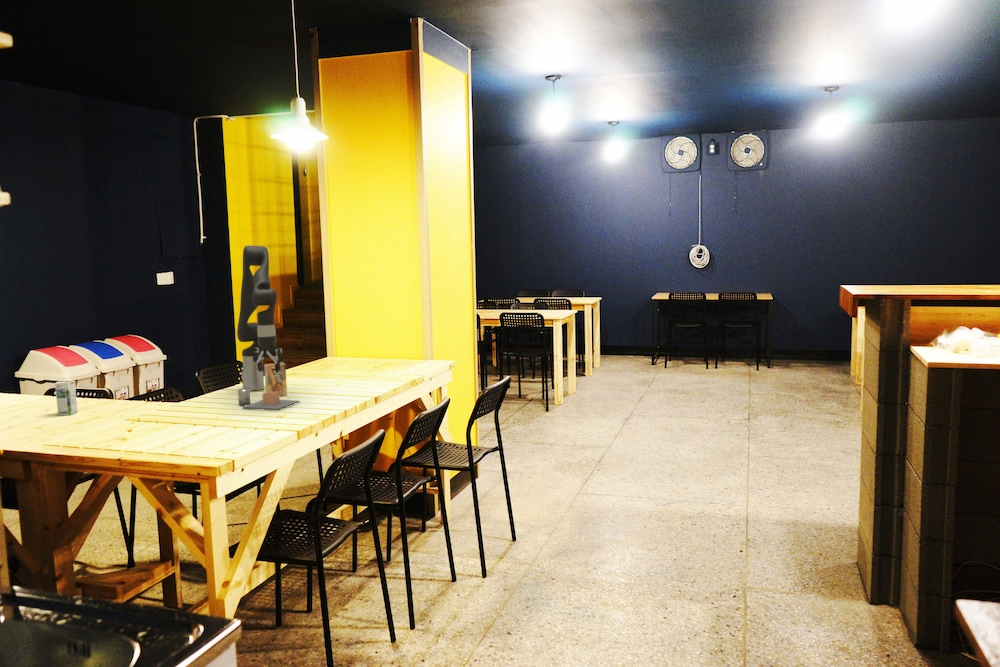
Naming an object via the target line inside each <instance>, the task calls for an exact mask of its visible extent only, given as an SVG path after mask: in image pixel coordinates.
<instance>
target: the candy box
mask: <svg viewBox="0 0 1000 667" xmlns="http://www.w3.org/2000/svg"><path fill="white" fill-rule="evenodd" d="M263 370H264V386H265V393H266V392H269V391H276V392H279V397H282V396H281V395H284V396H287V395H288V386H287V371H286V363H285V362H281V363H280V371H279V372H275V363H269V364H263ZM286 394H287V395H286Z"/></svg>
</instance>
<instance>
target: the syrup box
mask: <svg viewBox="0 0 1000 667" xmlns="http://www.w3.org/2000/svg"><path fill="white" fill-rule="evenodd" d="M75 381H76V380H59V381H56V382H55V383H54V387H55V397H56V407H57V416H73V415H74V414H77V413H78V404H77V403H78V402H77V391H76V382H75Z"/></svg>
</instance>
